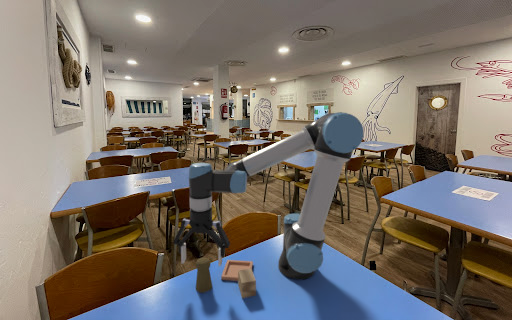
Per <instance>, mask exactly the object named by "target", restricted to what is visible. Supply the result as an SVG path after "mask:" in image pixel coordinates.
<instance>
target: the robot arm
mask: <svg viewBox="0 0 512 320" xmlns="http://www.w3.org/2000/svg"><path fill="white" fill-rule="evenodd" d="M363 138H364V127H363V124H362V123H361V121H360V119H359V118H357V117H356V116H355V115H353V114H351V113H348V112H342V111H340V112H339V111H338V112H329V113H326V114H323V115H322V116H320V117H319V118H317V119H316V120H314V121H312V122H310V123H308V124H306V125H305V126H303V127H302V129H301V130H300V131H298V132H296V133H294V134H292V135H290V136H288V137H284V138H283V139H281V140H279V141H277V142H275V143H273V144H272V143H271V145H268V146H266V147H264V148H261V149H260V150H258V151H256V152H254V153H251V154H249V155H248V156H245V157H243V158H242V159H239V160H237V161H233V162H230V163H229V164H228V165H227V166H226V167H225V169H223V170H222V169H219V170H218V169H213V168H212V167H213V166H212V164H211V163H210V162H208V163H207V162H196V163H192V164H190V166H189V167H188V168H189V172H188V185H189V187H188V188H189V208H190V209H189V219H187V217H184V218H183V219H182V220H181V221H180V227H179V230H178V231H177V233H176V236H175V237H174V238H173V241H172V244H173V245H177V246H178V255H179V254H180V255H181V256H180V259H181V260H180V261H181V264H184V263H185V262H186V260H187V243H186V241H187V240H188V239H189V238H190V237H191V236H192V235H193V233H196V234H203V235H204V234H205V235H208V237H210V239H212V241H213V242H214V243H215V244H216V245H217V246H218V252H217V253H218V257H217V258H218V265H217V266H218V267H221V266H222V263H223V258H224V257H225V254H226V249H228V248H229V247H230V245H231V242H230V240H229V238H228V235H227V234H226V232H225V230H224V227H223V226H222V225H223V224H222V220H220V219H218V220H217V221H213V207H212V206H213V202H212V201H213V195H212V194H213V193H226V194H242V193H243V194H244V193H245V192H246V191H247V186H248V178H251V176H254V175H256V174H258V173H260V172H262V171H264V170H267V169H270V168H272V167H274V166H276V165H278V164H280V163H283V162H284V161H287V160H289V159H292V158H294V157H295V156H297V155H301V154H302V153H305V152H306V151H308V150H313V151H314V152H315V154H316V159H315V162H314V166H313V169H312V172H311V177H310V179H309V183H308V186H307V189H306V192H305V197H304V200H303V202H302V207H301V210H300V213H289V214H287V215H285V216H284V218H283V223H282V224H283V239H282V240H283V241H282V245H283V246H282V251H281V254H280V256H279V259H278V262H277V263H278V271H280V274H282V275H283V276H285V277H287V278H289V279H292V280H300V281H301V280H306V279H310V278H311V277H313V276H314V274H315V272H316V271H317V270H318V269H320V268H321V266H322V264H323V262H324V253H323V251H322V249H323V245H324V244H325V240H326V233H325V232H324V228H325V223H326V221H327V217H328V214H329V211H330V207H331V204H332V201H333V198H334V195H335V192H336V189H337V186H338V182H339V180H340V176H341V173H342V170H343V166H344V164H345V163H347V162H349V161H351V158H352V155H353V153H354V150H357V148H358V147H359V146H360V145H361V144H362V141H363ZM188 225H189V226H190V227H191V228H190V230H189V231H188V232H186V234H185V235H184V237H182V235H183V234H184V231H185V229H186V227H188ZM213 226H214V228H215V229H216V231H217V233H218V234H217V233H216V231H215V229H214V228H213ZM181 237H182V238H181ZM180 238H181V239H180Z"/></svg>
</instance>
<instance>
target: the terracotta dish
mask: <svg viewBox="0 0 512 320" xmlns="http://www.w3.org/2000/svg"><path fill="white" fill-rule="evenodd" d="M253 265H254V262H253V261H251V260H236V259H234V260H233V259H227V260H226V262H225V266H224V267H223V271H222V273H221V279H220V280H223V281H232V282H233V281H235V282H238V271H239V270H245V269H252V270H253Z"/></svg>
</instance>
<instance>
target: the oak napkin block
mask: <svg viewBox="0 0 512 320" xmlns="http://www.w3.org/2000/svg"><path fill="white" fill-rule="evenodd" d="M237 282H238V283H237V285H238V290H239V293H240V296H241V299H244V298H245V299H246V298H249V297H256V296H257V294H256V293H257V280H256V277H255V275H254V272H253V268H252V269H245V270H239V271H238V281H237Z"/></svg>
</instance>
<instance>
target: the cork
mask: <svg viewBox="0 0 512 320" xmlns="http://www.w3.org/2000/svg"><path fill="white" fill-rule="evenodd" d="M210 267H211V260H210V258H208V257H201V258H199V259H197V260H196V262H195V268H196V270H197V272H196V283H195V291H196V292H198V293H199V294H200V293H201V294H203V293H207V292H209V291H211V290H212V288H213V284H212V283H213V282H212V277H211V272H210V271H211V270H210Z"/></svg>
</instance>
